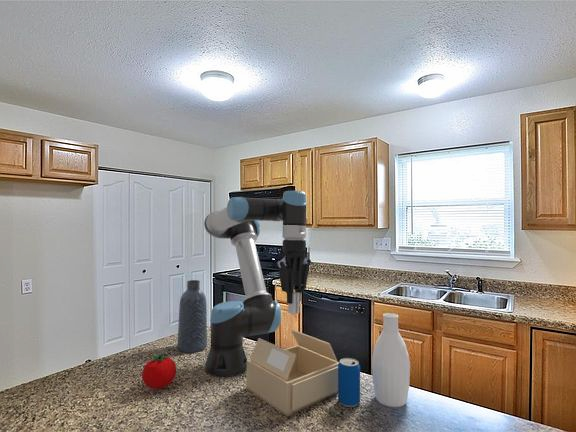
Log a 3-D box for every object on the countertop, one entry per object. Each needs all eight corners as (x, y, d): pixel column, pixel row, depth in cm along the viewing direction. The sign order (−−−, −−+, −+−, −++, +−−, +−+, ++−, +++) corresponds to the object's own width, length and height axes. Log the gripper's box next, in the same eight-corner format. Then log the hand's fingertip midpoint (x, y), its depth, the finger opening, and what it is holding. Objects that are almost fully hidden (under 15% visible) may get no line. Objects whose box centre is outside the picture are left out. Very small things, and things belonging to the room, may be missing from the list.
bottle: (390, 413, 94) (390, 322, 94) (364, 395, 104) (364, 312, 104) (418, 404, 99) (418, 317, 100) (390, 387, 109) (390, 308, 109)
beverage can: (360, 409, 96) (360, 367, 96) (337, 407, 97) (337, 365, 97) (360, 398, 102) (360, 358, 102) (338, 396, 103) (338, 356, 104)
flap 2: (337, 360, 107) (329, 343, 105) (336, 361, 106) (328, 344, 104) (299, 344, 121) (291, 329, 118) (298, 345, 120) (291, 330, 118)
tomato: (182, 386, 108) (182, 355, 109) (150, 398, 101) (151, 365, 101) (166, 376, 115) (167, 347, 116) (135, 387, 108) (136, 355, 108)
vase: (203, 353, 137) (204, 283, 138) (173, 353, 137) (174, 283, 137) (209, 342, 149) (210, 278, 150) (182, 342, 149) (183, 278, 150)
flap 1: (249, 359, 107) (258, 337, 109) (250, 359, 107) (260, 338, 110) (285, 379, 93) (295, 354, 95) (287, 379, 93) (296, 354, 96)
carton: (245, 388, 108) (245, 359, 108) (296, 369, 122) (296, 344, 122) (288, 418, 91) (289, 384, 91) (342, 392, 105) (342, 363, 106)
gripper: (284, 240, 101) (284, 319, 100) (318, 239, 110) (317, 311, 109) (269, 239, 106) (269, 314, 106) (302, 238, 115) (301, 307, 115)
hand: (293, 312), depth 107 cm, fingers closed
